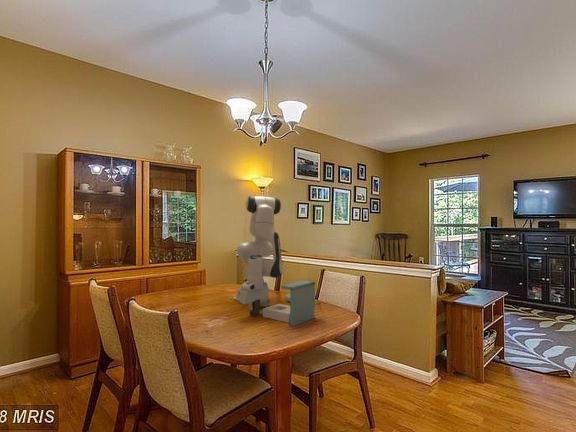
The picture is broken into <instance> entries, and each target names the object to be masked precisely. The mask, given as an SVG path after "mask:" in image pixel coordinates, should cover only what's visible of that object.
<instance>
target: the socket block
mask: <svg viewBox="0 0 576 432" xmlns="http://www.w3.org/2000/svg"><path fill="white" fill-rule="evenodd" d="M262 317H263V318H267V319H271V320H275V321H280V322H284V323H289V324H290V305H286V304H282V303H276V304H274V305H270V306H269V305H268V306H267V307H265V308H262Z"/></svg>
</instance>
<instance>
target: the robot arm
mask: <svg viewBox="0 0 576 432" xmlns="http://www.w3.org/2000/svg"><path fill="white" fill-rule="evenodd" d="M281 208H282V201H280V199H279V198H277V197H271V196H265V195H264V196H262V195H261V196H260V195H257V196H255V195H250V196H248V197H247V199H246V201H245V209H246V211H247V212H249V213H251V217H250V222H249V223H250V224H249V229H248V230H249V234H250V235H251V236H253V237H254V239H255V240H254V241H243V242H240V243H239V244H238V245H237V247H236V254H237V256H238V257H239V258H240V259H241V260H242V261H243V263H244V265H245V268H246V269H245V270H246V271H245V272H246V277H245V279H244V280H243V283H242V284H241V285H240V287H239V288H238V289H237V290H236V295H235V296H233V297H232V300H234V301H238V302H240V303H241V304H243V305H247V304H248V307H249V311H250V310H253V309H254V307H253V306H252V304H253V302H255V300H259V299H260V304H261V302H262V299H266V298H269V297H270V296H269V295H270V294H269V286H268V283H267V282H266V281H265V279H264V277H268V278H274V279H278V278H279V277H281V276H282V275H283V273H284V265H283V260H282V249H281V241H280V236H279V233H278V232H276V229H275V215H277V214H279V213H280V211H281ZM270 256H272V257H273V259H264V258H267V257H270Z"/></svg>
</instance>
